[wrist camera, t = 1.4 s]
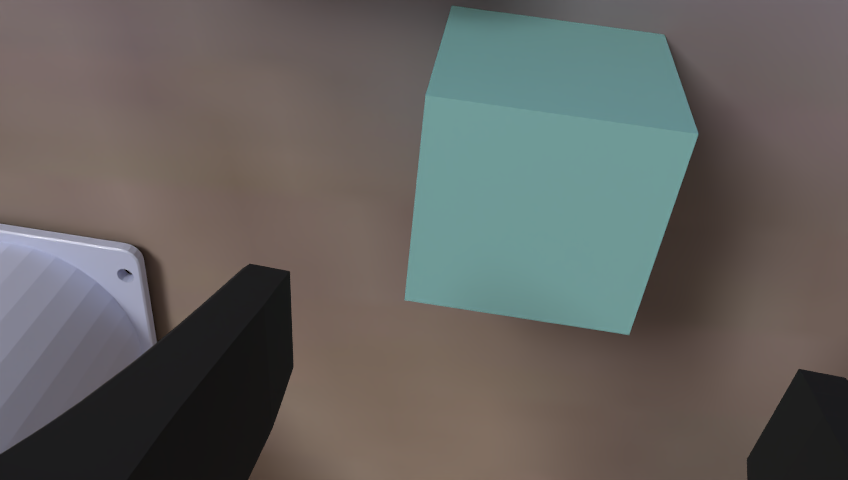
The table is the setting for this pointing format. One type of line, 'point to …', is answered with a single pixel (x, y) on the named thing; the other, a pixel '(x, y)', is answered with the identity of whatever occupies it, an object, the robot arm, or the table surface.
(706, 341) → the table surface
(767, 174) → the table surface
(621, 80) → the teal cube
